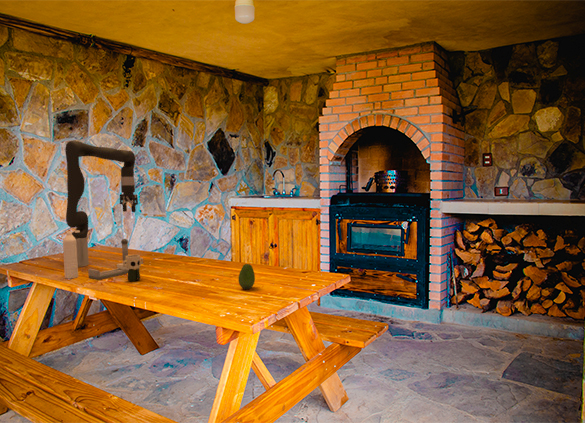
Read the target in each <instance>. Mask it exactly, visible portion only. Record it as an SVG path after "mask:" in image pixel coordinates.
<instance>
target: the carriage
mask: <svg viewBox="0 0 585 423" xmlns="http://www.w3.org/2000/svg"><path fill="white" fill-rule="evenodd" d="M120 244H121V252H122V253H121V254H122V255H121V256H122V262H121V263H116V269H118V268H119V269H128V268H126V267H123V261H125V260H126V256H128V255H129V249H128V248H129V240H128V239H127V238H123V239H122V240H121V243H120ZM125 265H126V262H125Z"/></svg>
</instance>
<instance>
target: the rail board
mask: <svg viewBox="0 0 585 423" xmlns="http://www.w3.org/2000/svg"><path fill="white" fill-rule="evenodd" d="M138 269H139V270H140V267H139V268H138ZM128 270H129V269H119V268H114V269H110V270H104V271H100V269H99V270H98V269H93V268H88V269H87V271H88V279H91V280H94V281H100V280H106V279H110V278H115V277H119V276H122V275H123V274H124V275H128V274H127V273H128Z"/></svg>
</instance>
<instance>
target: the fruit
mask: <svg viewBox="0 0 585 423" xmlns="http://www.w3.org/2000/svg"><path fill="white" fill-rule="evenodd" d="M255 282H256V275H255V272H254V268H253V266H252V265H251V264H249V263H245V264H243V266H242V267H241V269H240V271H239V275H238V285H239V286H240V288H242V289H243V290H249V289H251V288H252V287H253V286H254V285H255Z"/></svg>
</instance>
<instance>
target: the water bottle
mask: <svg viewBox="0 0 585 423" xmlns="http://www.w3.org/2000/svg"><path fill="white" fill-rule="evenodd" d="M74 231H75V230H74ZM79 232H80V231H75V233H79ZM62 247H63V250H62V251H63V265H64V266H63V267H64V268H63V269H64V278H65V279H69V280H70V279H76V278H78V277H79V272H78V271H79V269H78V268H79V267H78V262H77V248H76V247H77V246H76V239H75V238H74V236H73V235H72V231H66V235H65V236H64V237H63V240H62Z"/></svg>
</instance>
